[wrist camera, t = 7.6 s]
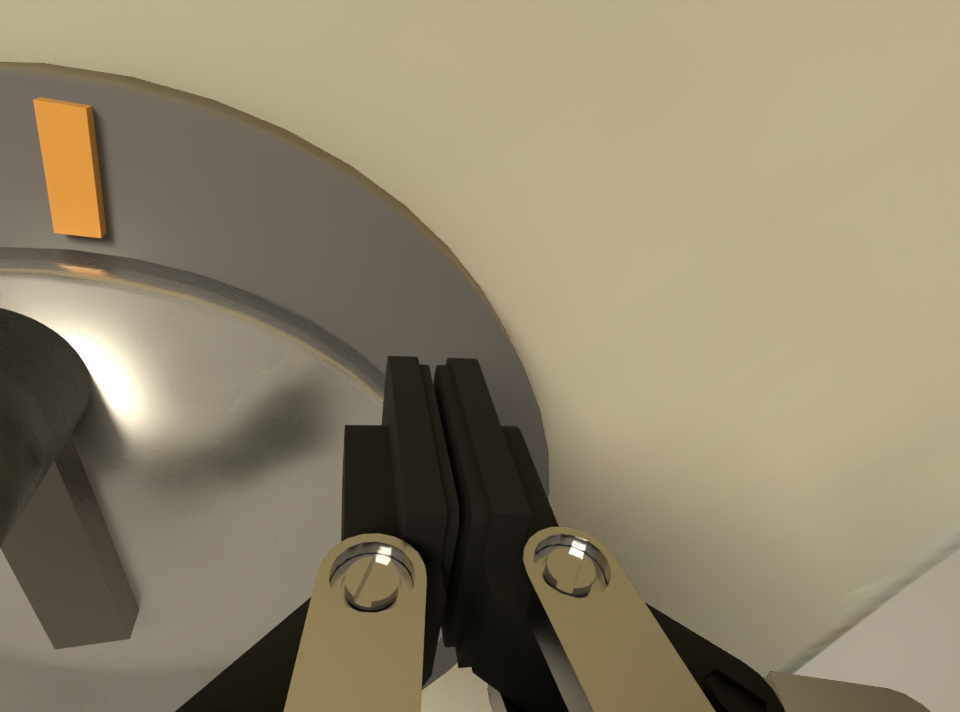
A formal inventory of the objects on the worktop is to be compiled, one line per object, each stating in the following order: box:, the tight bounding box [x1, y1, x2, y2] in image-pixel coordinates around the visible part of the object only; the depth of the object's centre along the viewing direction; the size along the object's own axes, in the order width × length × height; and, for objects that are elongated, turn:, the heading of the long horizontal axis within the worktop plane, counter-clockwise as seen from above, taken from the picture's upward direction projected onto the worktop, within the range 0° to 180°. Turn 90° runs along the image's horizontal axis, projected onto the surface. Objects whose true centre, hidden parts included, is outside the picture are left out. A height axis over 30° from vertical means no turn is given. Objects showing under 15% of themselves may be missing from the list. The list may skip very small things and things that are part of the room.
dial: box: [0, 247, 442, 712], centre depth 13 cm, size 18×18×6 cm
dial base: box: [0, 62, 549, 690], centre depth 17 cm, size 24×24×2 cm
